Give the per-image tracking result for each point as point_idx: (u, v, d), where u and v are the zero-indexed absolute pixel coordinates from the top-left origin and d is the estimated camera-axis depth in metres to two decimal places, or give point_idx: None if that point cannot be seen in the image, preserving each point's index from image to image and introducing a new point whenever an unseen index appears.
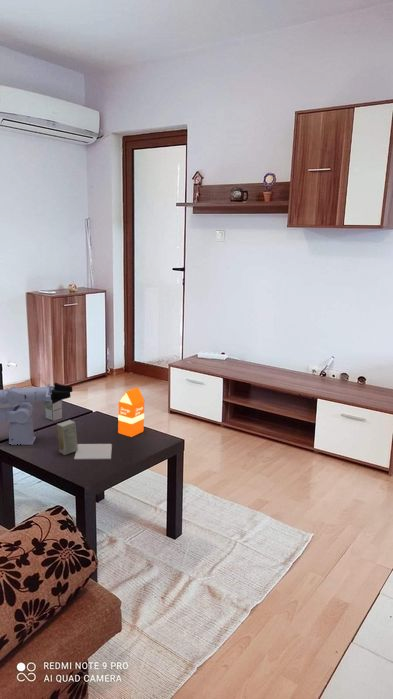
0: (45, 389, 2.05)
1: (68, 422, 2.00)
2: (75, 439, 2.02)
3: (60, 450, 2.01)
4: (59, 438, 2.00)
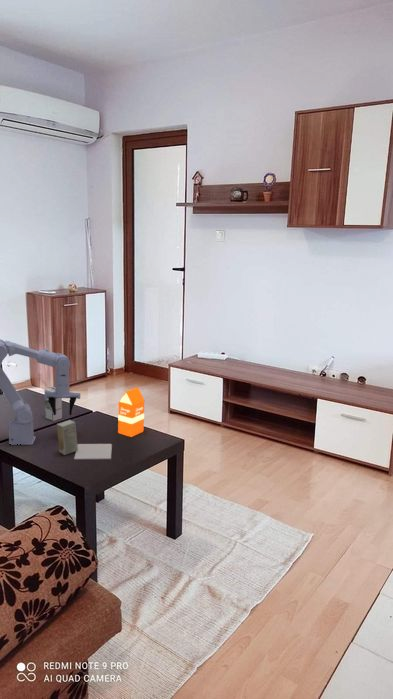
0: None
1: (68, 422, 2.00)
2: (75, 439, 2.02)
3: (60, 450, 2.01)
4: (59, 438, 2.00)
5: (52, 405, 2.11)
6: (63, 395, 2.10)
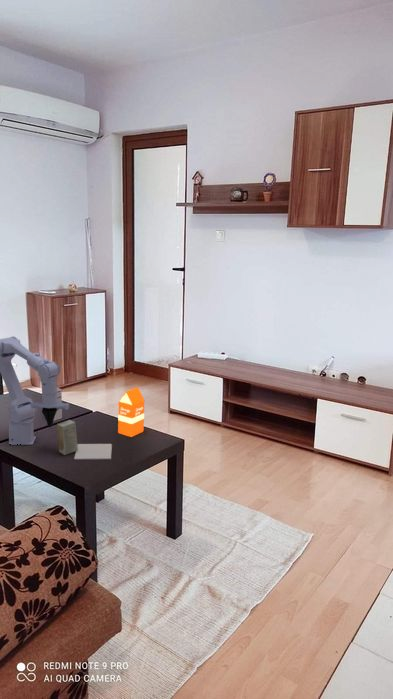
0: None
1: (68, 422, 2.00)
2: (75, 439, 2.02)
3: (60, 450, 2.01)
4: (59, 438, 2.00)
5: (46, 416, 1.98)
6: (49, 405, 1.97)
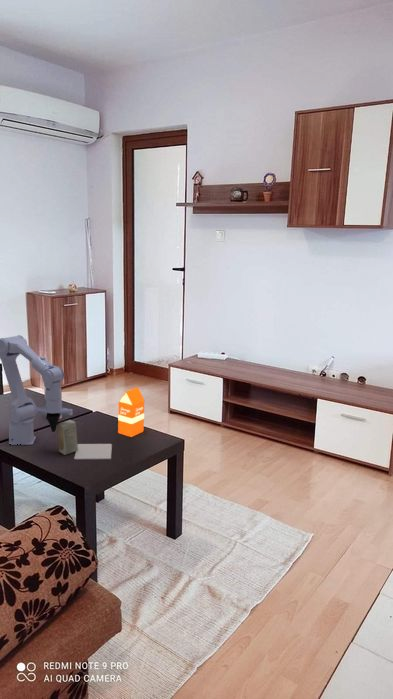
0: None
1: (68, 422, 2.00)
2: (75, 439, 2.02)
3: (60, 450, 2.01)
4: (59, 438, 2.00)
5: (50, 421, 1.97)
6: (53, 411, 1.95)
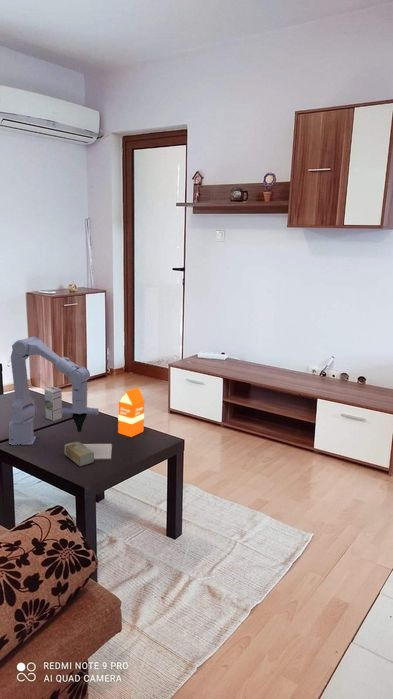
0: None
1: (89, 459, 1.93)
2: None
3: (65, 448, 1.97)
4: (72, 453, 1.94)
5: (76, 421, 1.98)
6: (80, 411, 1.97)
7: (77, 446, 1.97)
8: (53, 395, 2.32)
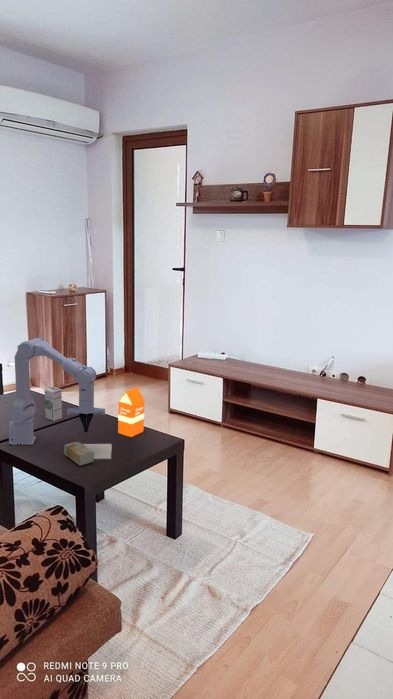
0: None
1: (89, 458, 1.93)
2: None
3: (65, 448, 1.98)
4: (72, 453, 1.94)
5: (83, 421, 1.99)
6: (87, 411, 1.97)
7: (77, 446, 1.97)
8: (53, 395, 2.32)
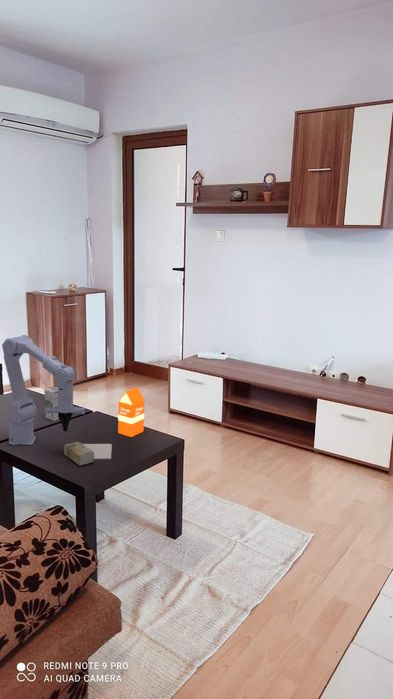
0: None
1: (89, 458, 1.93)
2: None
3: (65, 448, 1.98)
4: (72, 453, 1.94)
5: (62, 421, 1.98)
6: (66, 410, 1.96)
7: (77, 446, 1.97)
8: (53, 395, 2.32)
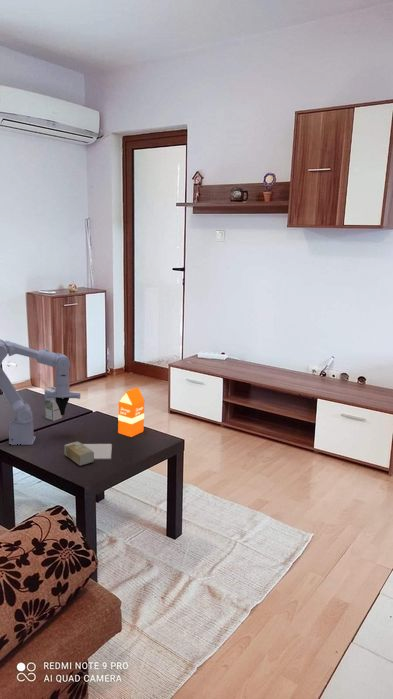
0: None
1: (89, 458, 1.93)
2: None
3: (65, 448, 1.98)
4: (72, 453, 1.94)
5: (59, 405, 2.11)
6: (63, 395, 2.10)
7: (77, 446, 1.97)
8: None
